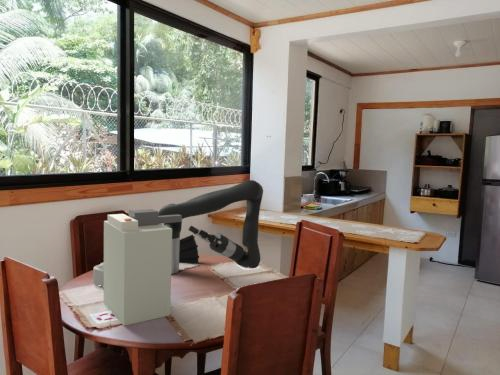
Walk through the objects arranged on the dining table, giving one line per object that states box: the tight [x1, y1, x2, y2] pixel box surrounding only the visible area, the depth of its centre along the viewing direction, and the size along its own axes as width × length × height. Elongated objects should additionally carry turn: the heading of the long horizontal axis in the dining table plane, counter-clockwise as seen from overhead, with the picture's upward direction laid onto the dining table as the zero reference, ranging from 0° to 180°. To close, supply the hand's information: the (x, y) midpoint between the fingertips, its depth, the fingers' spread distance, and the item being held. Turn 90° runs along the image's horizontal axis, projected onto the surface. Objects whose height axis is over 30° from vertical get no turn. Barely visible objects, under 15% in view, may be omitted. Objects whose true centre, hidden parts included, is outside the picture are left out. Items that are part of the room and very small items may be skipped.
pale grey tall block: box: [103, 213, 172, 327], centre depth 146 cm, size 24×17×36 cm
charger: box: [128, 208, 183, 226], centre depth 149 cm, size 6×20×5 cm, turn 126°
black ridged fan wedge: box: [179, 234, 200, 265], centre depth 209 cm, size 4×13×15 cm, turn 82°
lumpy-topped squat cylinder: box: [92, 261, 104, 286], centre depth 174 cm, size 10×13×9 cm
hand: (194, 229), depth 159 cm, fingers open, 8 cm apart
